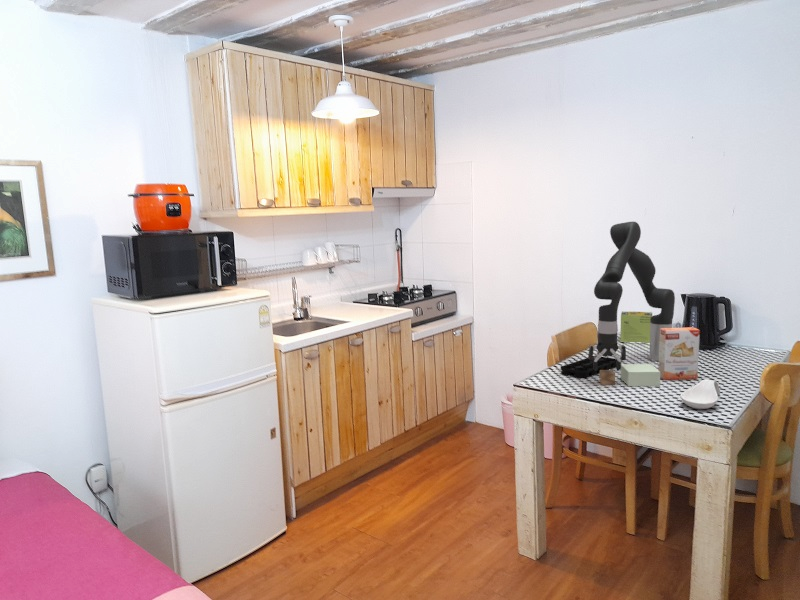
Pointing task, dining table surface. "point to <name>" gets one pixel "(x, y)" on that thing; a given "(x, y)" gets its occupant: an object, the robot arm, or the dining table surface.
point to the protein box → (635, 326)
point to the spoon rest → (701, 394)
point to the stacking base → (640, 375)
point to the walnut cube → (607, 377)
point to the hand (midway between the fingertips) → (606, 370)
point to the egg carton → (588, 367)
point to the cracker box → (679, 353)
